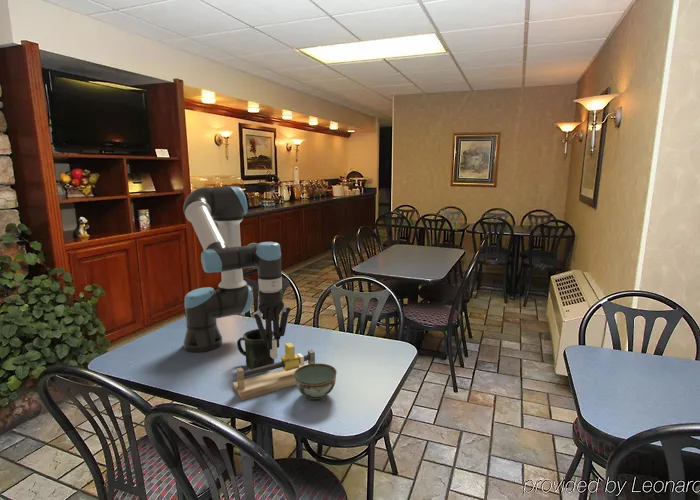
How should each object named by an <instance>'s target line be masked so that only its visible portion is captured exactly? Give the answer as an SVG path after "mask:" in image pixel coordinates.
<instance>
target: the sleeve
mask: <svg viewBox="0 0 700 500" xmlns="http://www.w3.org/2000/svg"><path fill="white" fill-rule="evenodd" d="M284 352H285V353H284V354H285V355H282V356H280V357H281V361H280V362H282V361H284V362H285V367H281V368H282V369H284V370H285V371H289V370H292V369H296V368H299V357H298V356H297V353H296V352H295V345H294V344H293V343H291V342H287V343H284Z"/></svg>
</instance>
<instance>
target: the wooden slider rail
mask: <svg viewBox="0 0 700 500" xmlns="http://www.w3.org/2000/svg"><path fill="white" fill-rule="evenodd" d="M307 355H309V356H310V360H307V362H304V365H308V364H316V351H314V350H313V349H309V350H307ZM304 365H303V366H304ZM300 367H302V366H301V365H299V368H300ZM297 369H298V368H296V369H292V370H289V371H285V370H284V369H283V368H282V369H279V370H275V371H270V372H267V373H264V374H258V375H256V376H255V375H254V376H253V377H248V378H245V377H244V371H245V370H244V369H243V368H242V367H237V368H236V381H233V382H232V385H233V388H234V390H235V391H236V393H237V395H238V396H239V398H240V399H241V400H242V401H244V400H248V399H252V398H255V397H259V396H261V395H265V394H268V393H271V392H276V391H279V390H282V389H286V388H289V387H292V386H293V387H294V386H297V385H296V380H295V377H294V373H295V371H296V370H297Z"/></svg>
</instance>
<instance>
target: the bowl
mask: <svg viewBox="0 0 700 500" xmlns="http://www.w3.org/2000/svg"><path fill="white" fill-rule="evenodd" d="M337 373H338V372H337V369H336V368H335V367H334V366H332V365H330V364H326V363H315V364H308V365H304V366H302V367H300V368H298V369H297V370H296V371H295V373H294V377H295V380H296V385H295V386H296V387H297V389H298V391H299V392H300V394H302V395H303V396H305V397H306V399H308V400H309V401H312V402H313V401H314V402H316V401H317V402H319V401H321V400H324V399H325V398H326V396H327V395H328V394H330V393H331V391H333V389H334V387H335V385H336V379H337Z"/></svg>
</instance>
